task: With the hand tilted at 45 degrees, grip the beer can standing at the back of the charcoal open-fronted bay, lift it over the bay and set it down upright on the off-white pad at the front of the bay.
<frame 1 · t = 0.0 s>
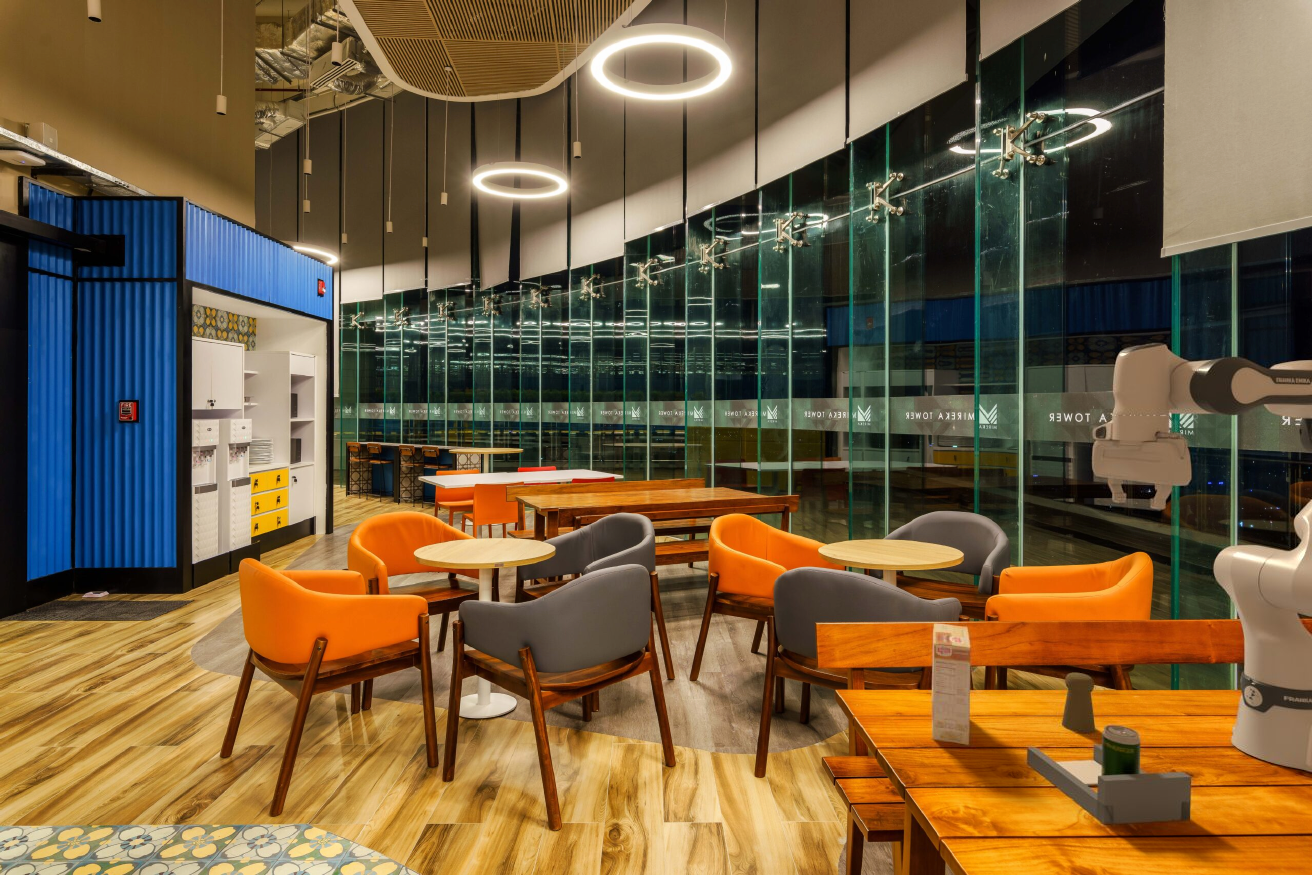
hand: (1137, 505, 135), 48 cm above the table, tool pointing down, fingers open, 8 cm apart
cork: (1078, 727, 150), on the table
coffeecake box: (949, 728, 149), on the table
bay: (1102, 789, 125), on the table
beer can: (1119, 802, 121), resting in bay
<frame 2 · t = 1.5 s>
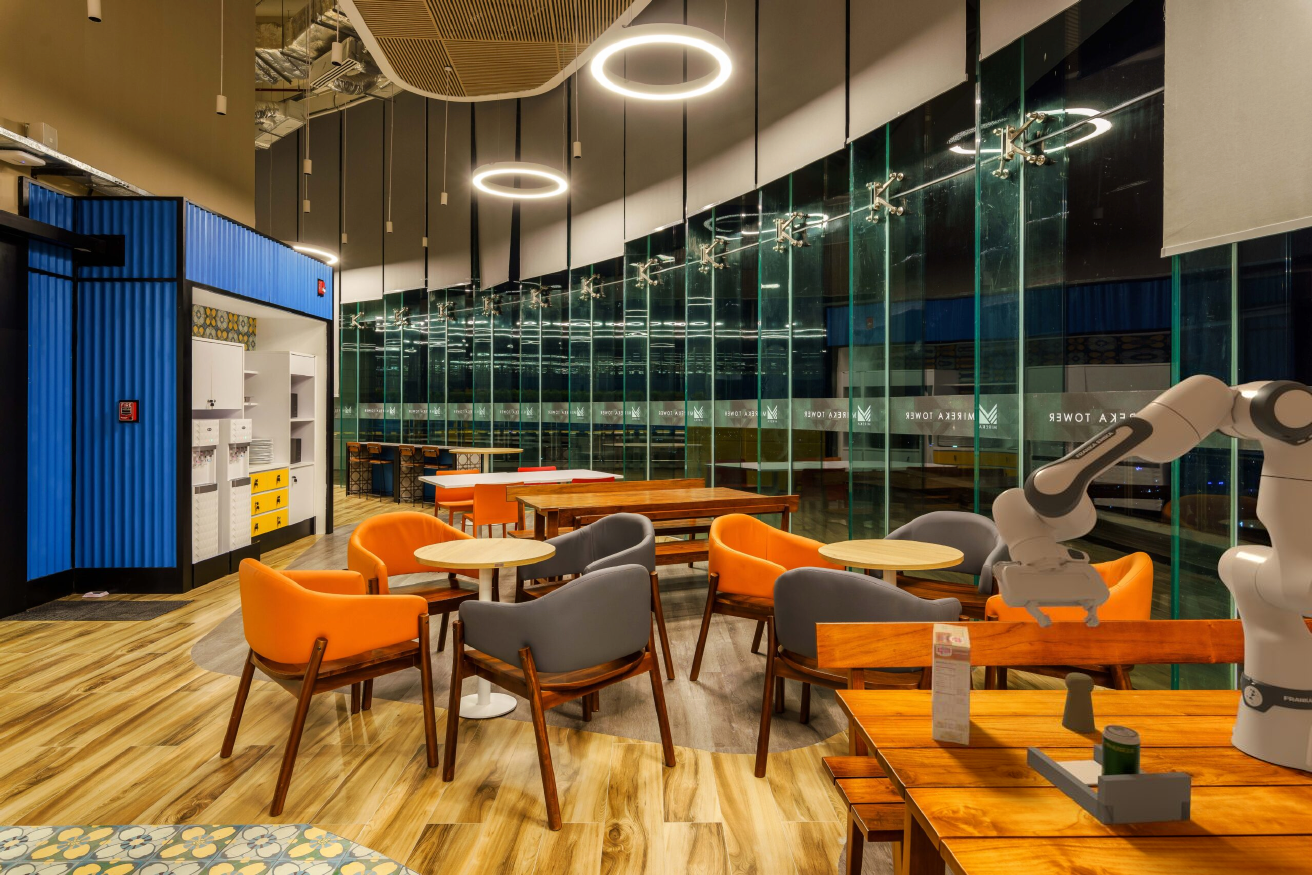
hand: (1070, 625, 133), 26 cm above the table, tool tilted 45°, fingers open, 8 cm apart
nothing on the table moved.
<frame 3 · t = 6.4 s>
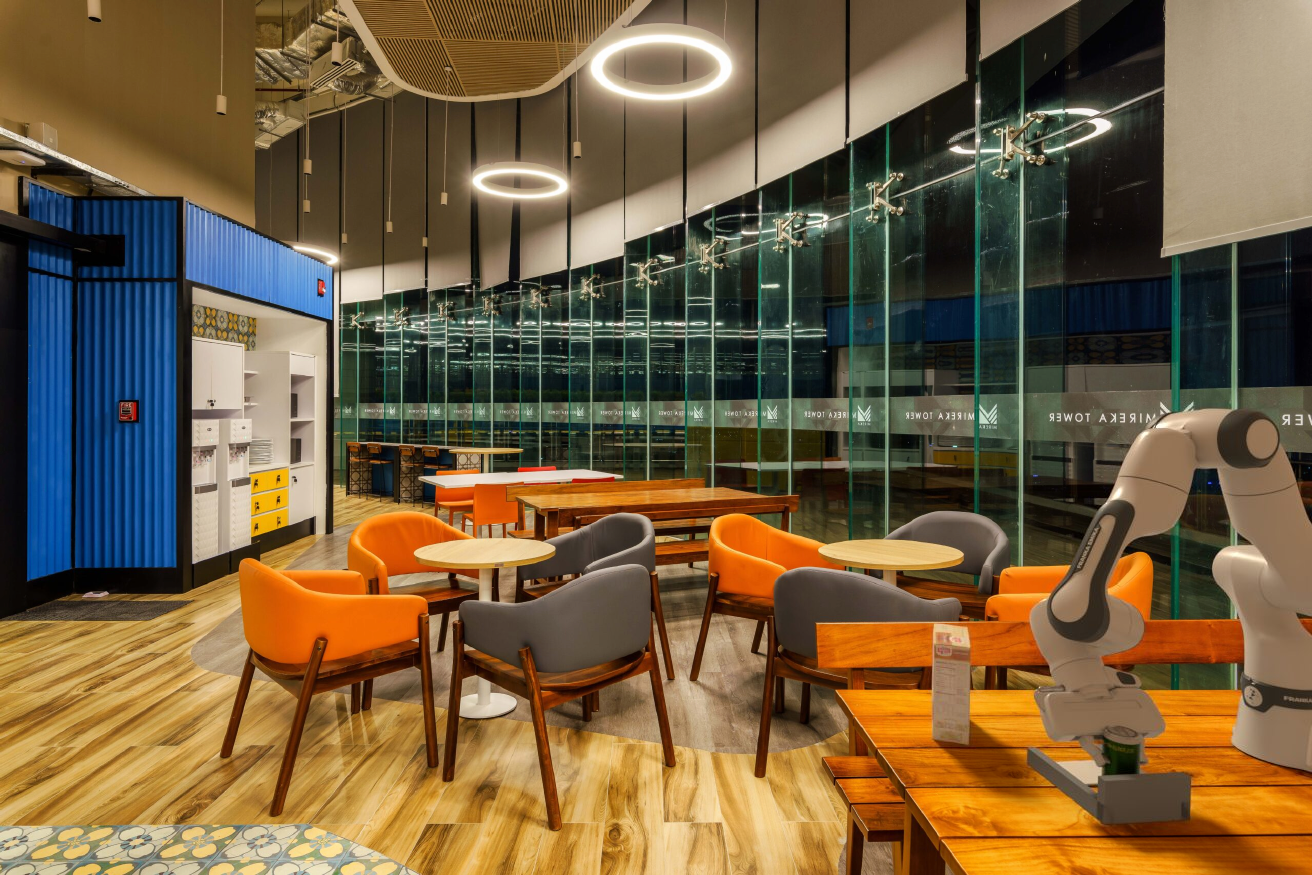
hand: (1123, 764, 120), 7 cm above the table, tool tilted 45°, fingers closed on beer can, 5 cm apart
beer can: (1119, 802, 121), resting in bay, touching gripper
everything else where it was.
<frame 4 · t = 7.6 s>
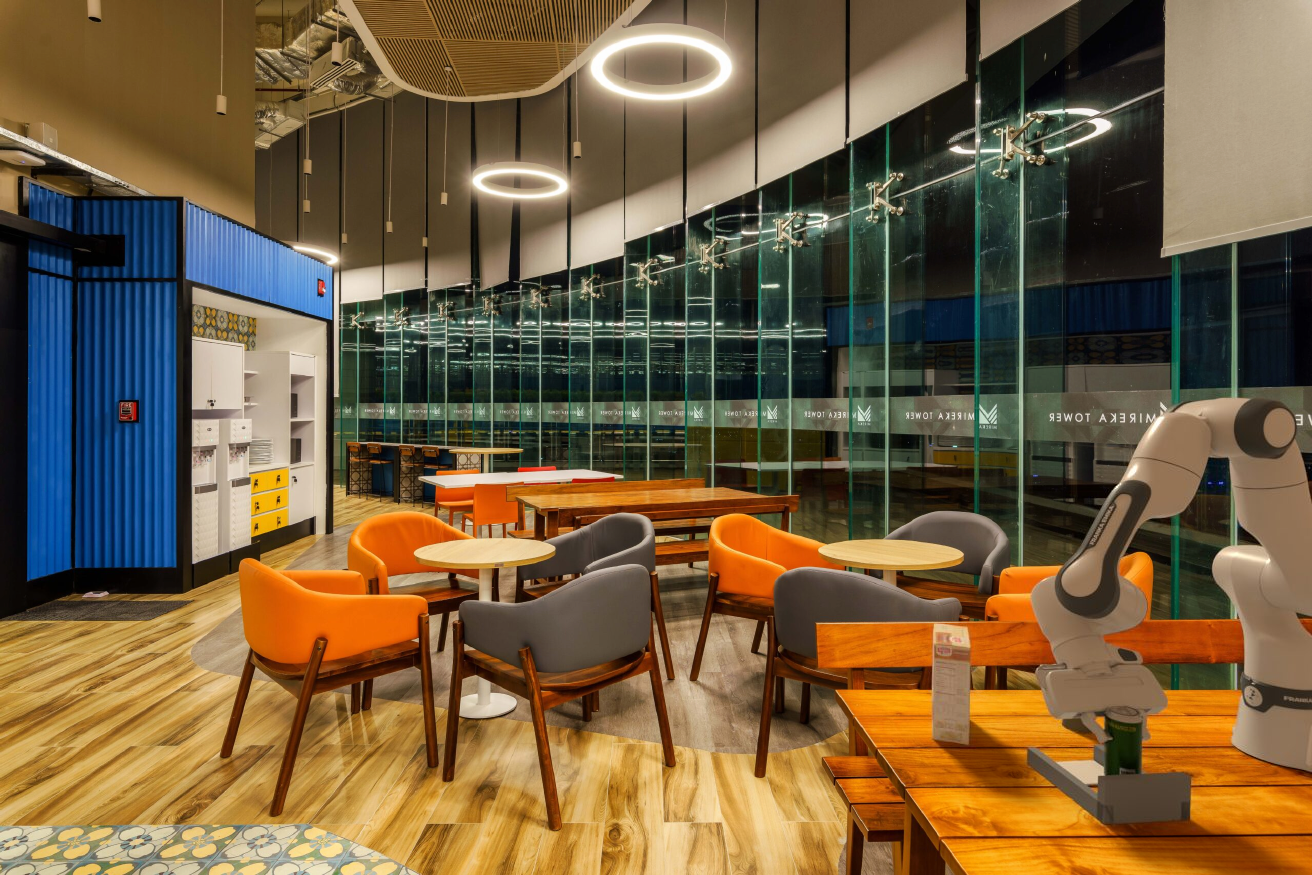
hand: (1125, 740, 120), 11 cm above the table, tool tilted 45°, fingers closed on beer can, 5 cm apart
beer can: (1122, 781, 121), point 3 cm above the table, touching gripper
everything else where it was.
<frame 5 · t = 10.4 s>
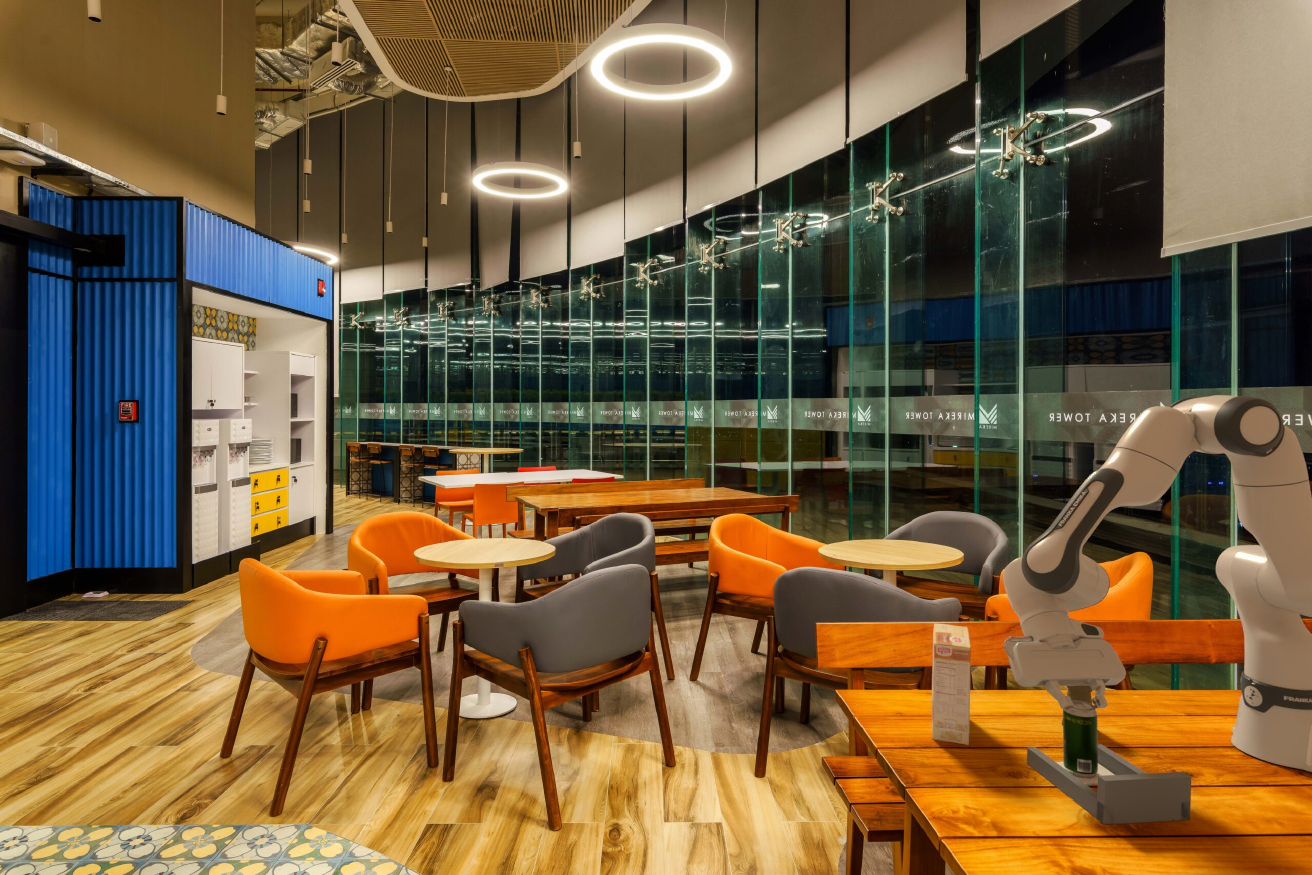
hand: (1085, 707, 129), 13 cm above the table, tool tilted 45°, fingers open, 5 cm apart
beer can: (1080, 772, 130), resting on bay, touching gripper
everything else where it was.
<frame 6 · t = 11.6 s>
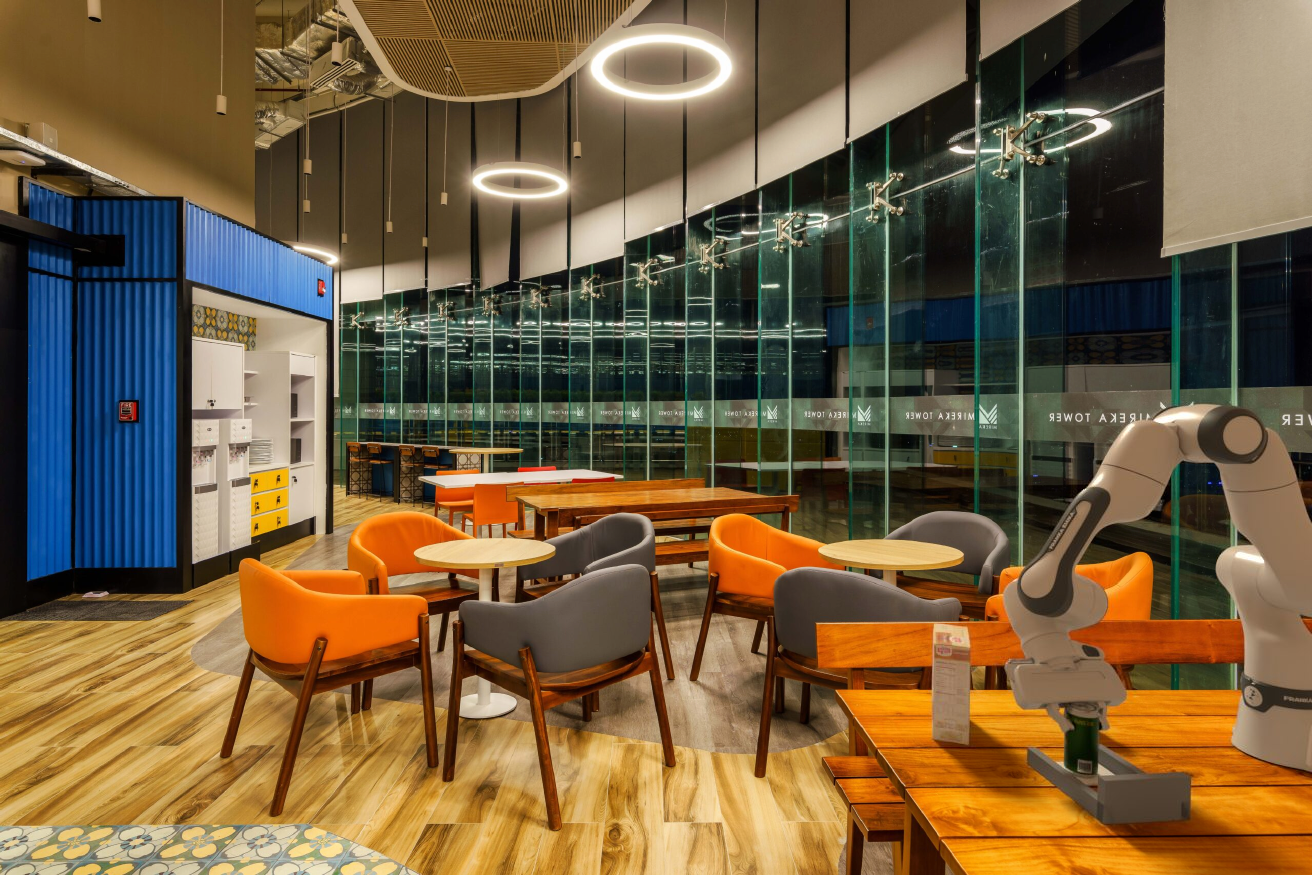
hand: (1086, 730, 129), 8 cm above the table, tool tilted 45°, fingers closed on beer can, 5 cm apart
beer can: (1080, 772, 130), resting on bay, touching gripper
everything else where it was.
when the fingers open (8 cm above the table, at t = 11.6 s): beer can stays where it is, resting on bay.
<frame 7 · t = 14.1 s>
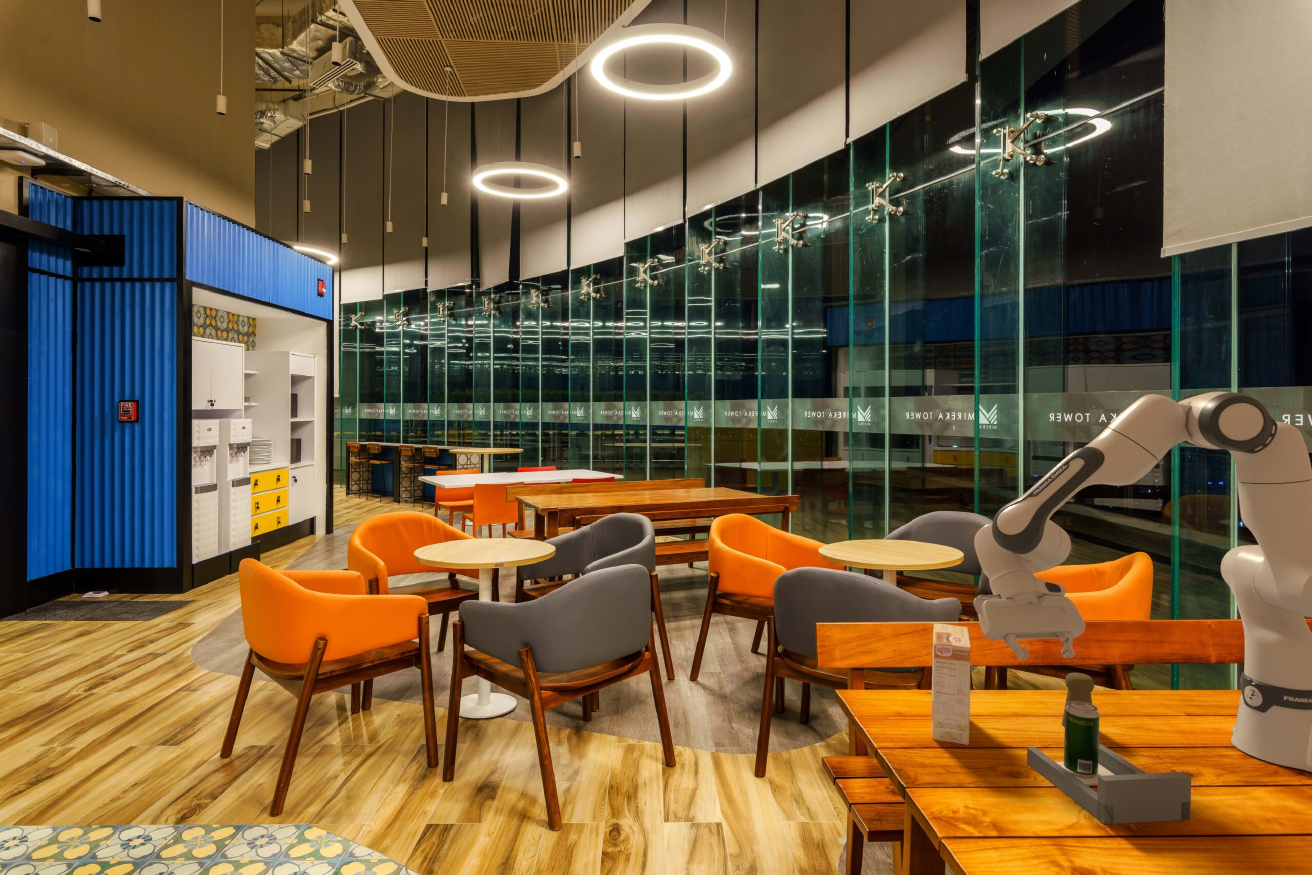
hand: (1047, 657, 140), 18 cm above the table, tool tilted 45°, fingers open, 8 cm apart
beer can: (1080, 772, 130), resting on bay
everything else where it was.
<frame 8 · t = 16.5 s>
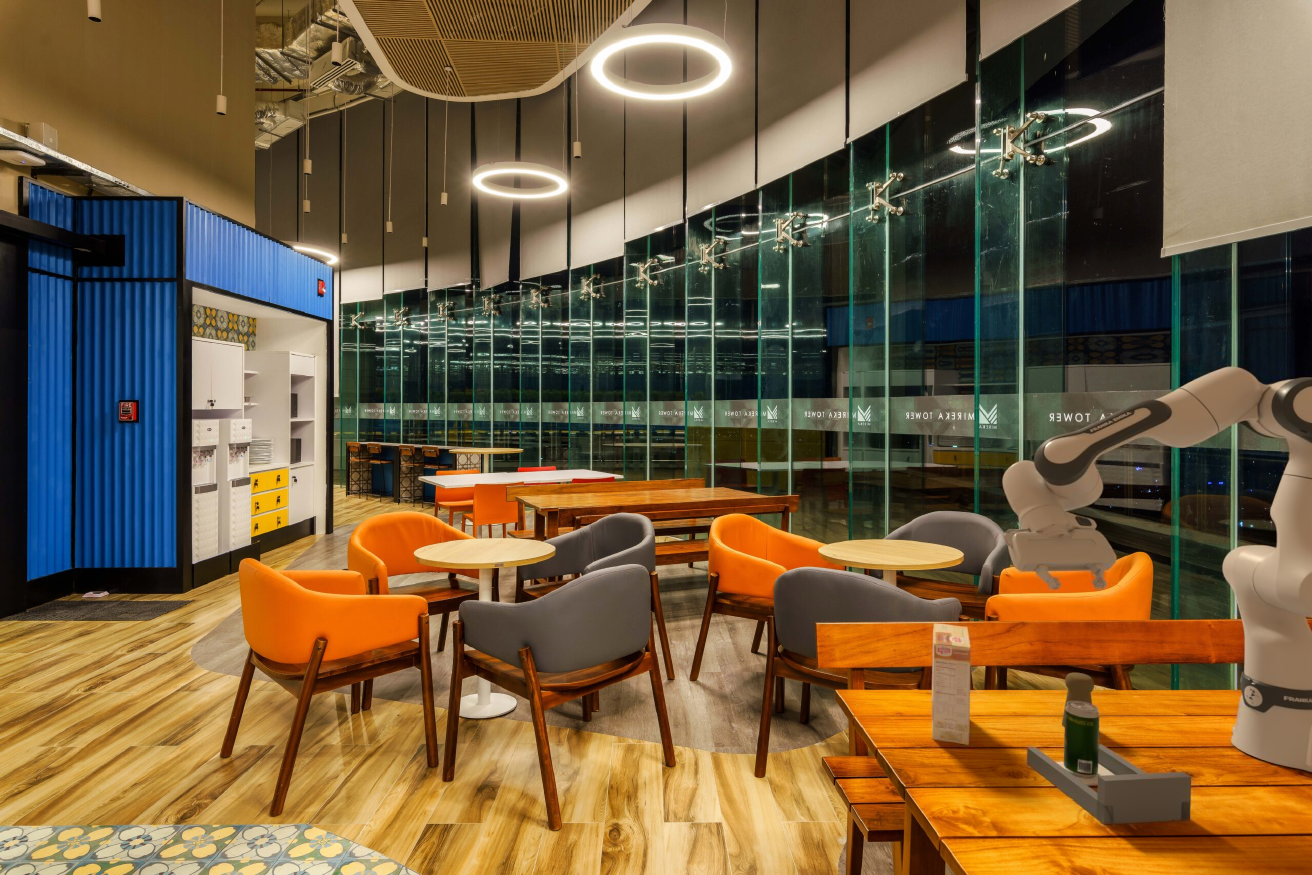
hand: (1078, 587, 140), 31 cm above the table, tool tilted 45°, fingers open, 8 cm apart
nothing on the table moved.
at the end: beer can inside the target area (0.3 cm from its centre), resting on bay; beer can tilted 0°; the gripper is holding nothing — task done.
